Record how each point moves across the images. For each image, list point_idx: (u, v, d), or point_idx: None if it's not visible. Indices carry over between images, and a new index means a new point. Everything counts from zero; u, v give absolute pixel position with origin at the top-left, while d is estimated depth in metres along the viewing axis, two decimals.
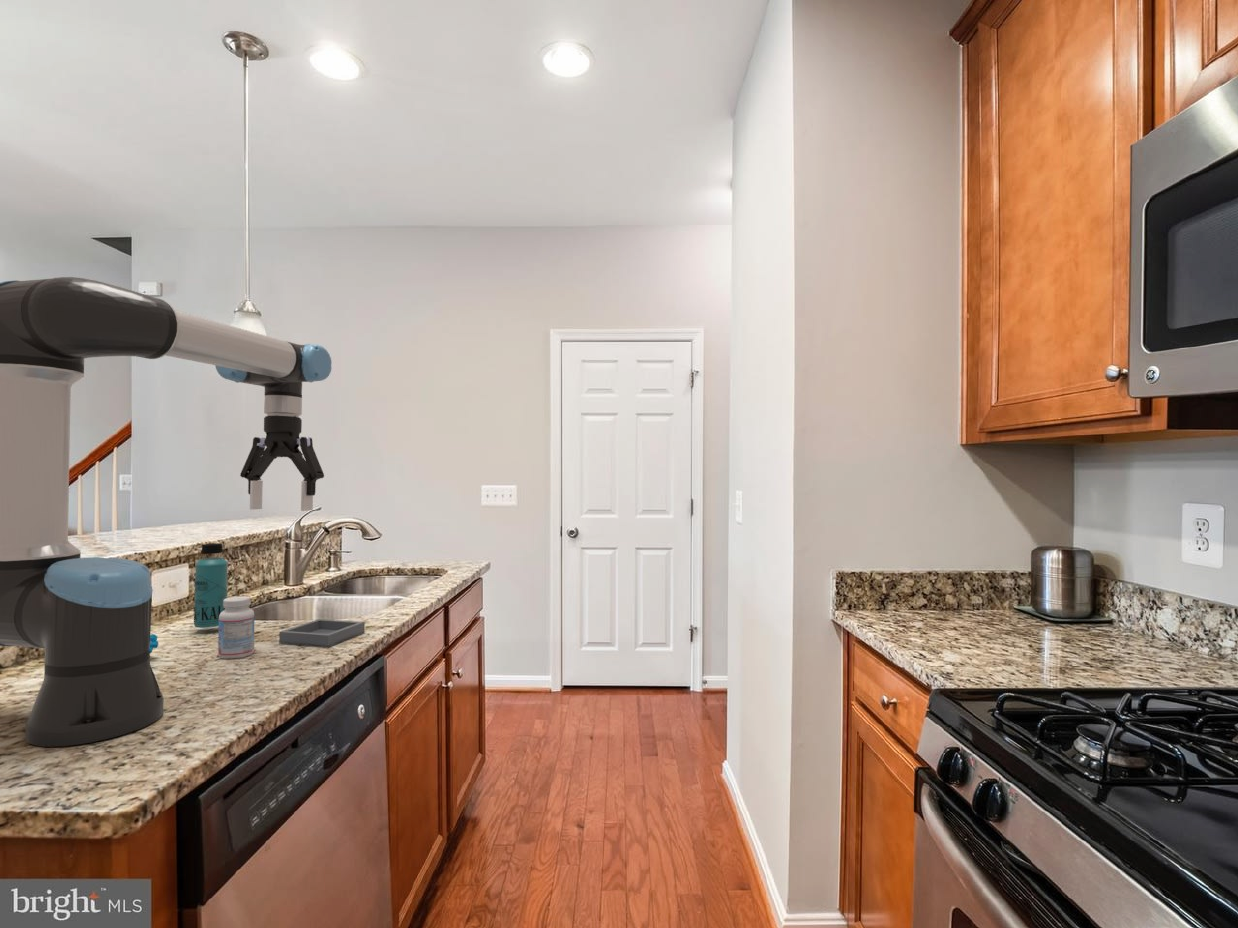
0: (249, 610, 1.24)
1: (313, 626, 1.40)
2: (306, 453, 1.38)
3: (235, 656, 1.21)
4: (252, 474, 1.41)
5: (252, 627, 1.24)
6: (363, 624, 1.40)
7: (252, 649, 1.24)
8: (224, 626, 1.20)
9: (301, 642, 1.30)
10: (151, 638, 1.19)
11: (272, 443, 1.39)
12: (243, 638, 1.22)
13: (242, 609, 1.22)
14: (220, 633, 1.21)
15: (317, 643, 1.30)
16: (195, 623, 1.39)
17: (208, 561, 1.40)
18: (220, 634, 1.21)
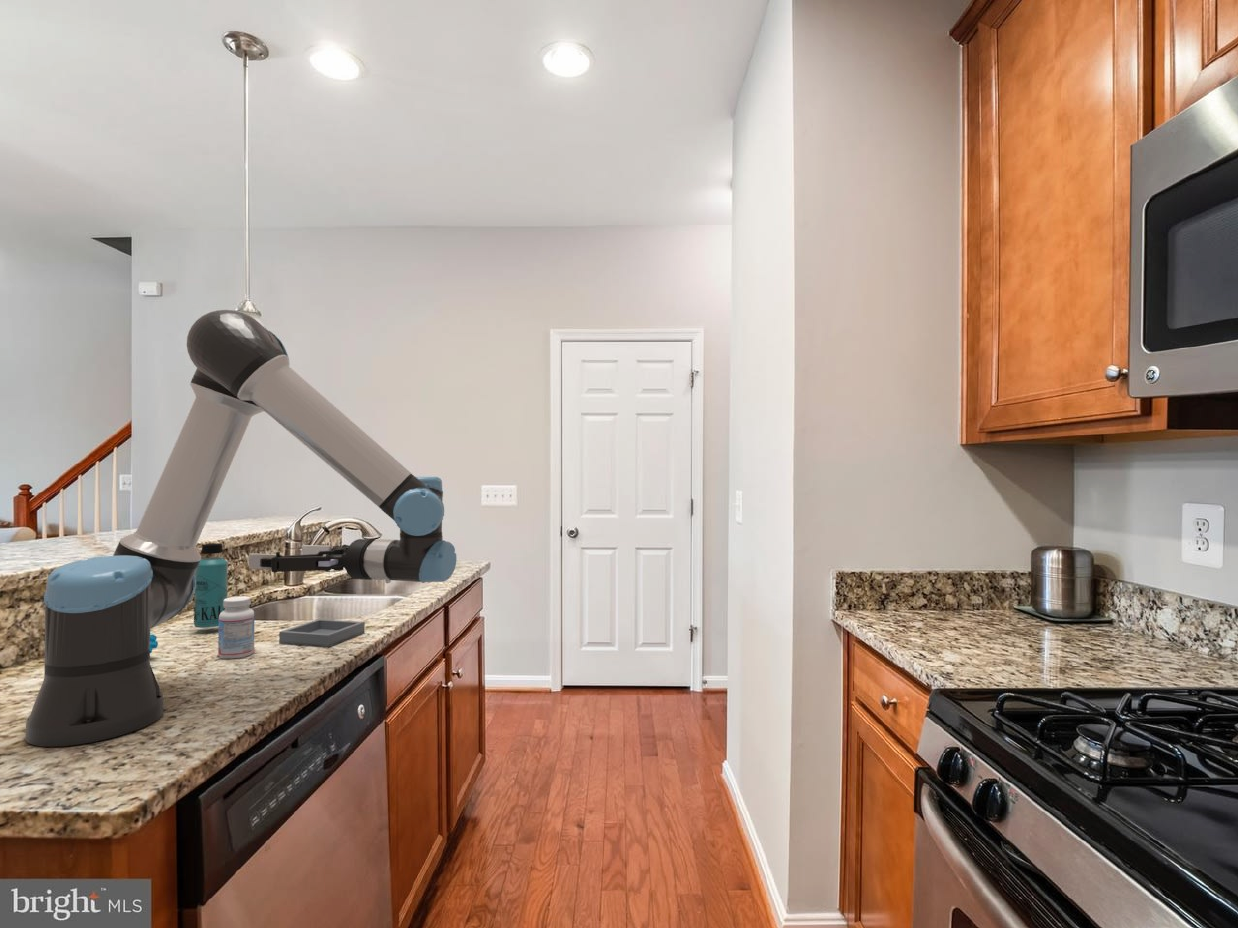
0: (249, 610, 1.24)
1: (313, 626, 1.40)
2: (307, 557, 1.12)
3: (235, 656, 1.21)
4: (336, 547, 1.26)
5: (252, 627, 1.24)
6: (363, 624, 1.40)
7: (252, 649, 1.24)
8: (224, 626, 1.20)
9: (301, 642, 1.30)
10: (150, 638, 1.19)
11: (348, 547, 1.19)
12: (243, 638, 1.22)
13: (242, 609, 1.22)
14: (220, 633, 1.21)
15: (317, 643, 1.30)
16: (195, 623, 1.39)
17: (208, 561, 1.40)
18: (220, 634, 1.21)
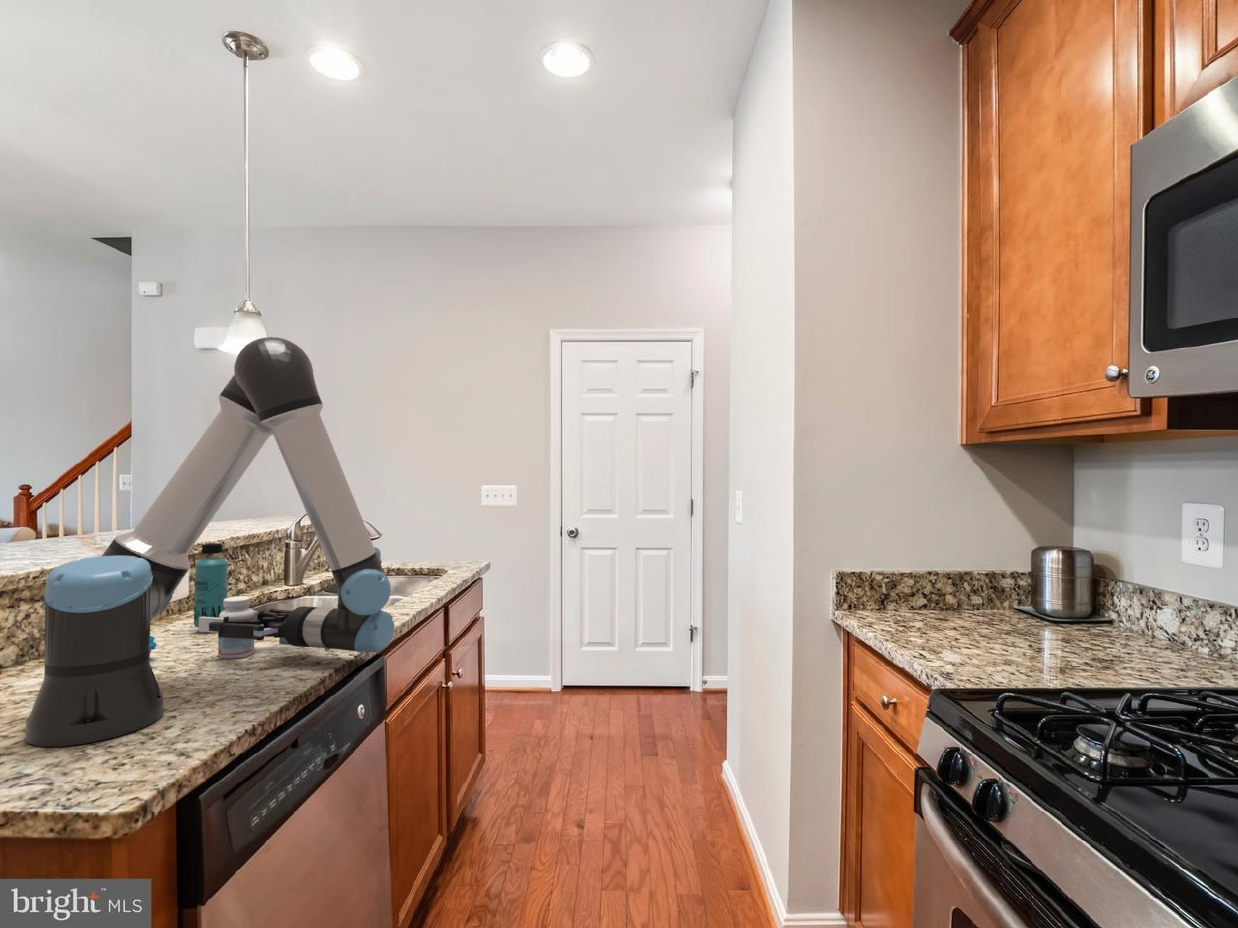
0: (249, 610, 1.24)
1: None
2: (246, 625, 1.16)
3: (235, 656, 1.21)
4: (264, 612, 1.26)
5: None
6: None
7: (252, 649, 1.24)
8: None
9: None
10: None
11: None
12: None
13: (242, 609, 1.22)
14: None
15: None
16: (195, 623, 1.39)
17: (208, 561, 1.40)
18: None
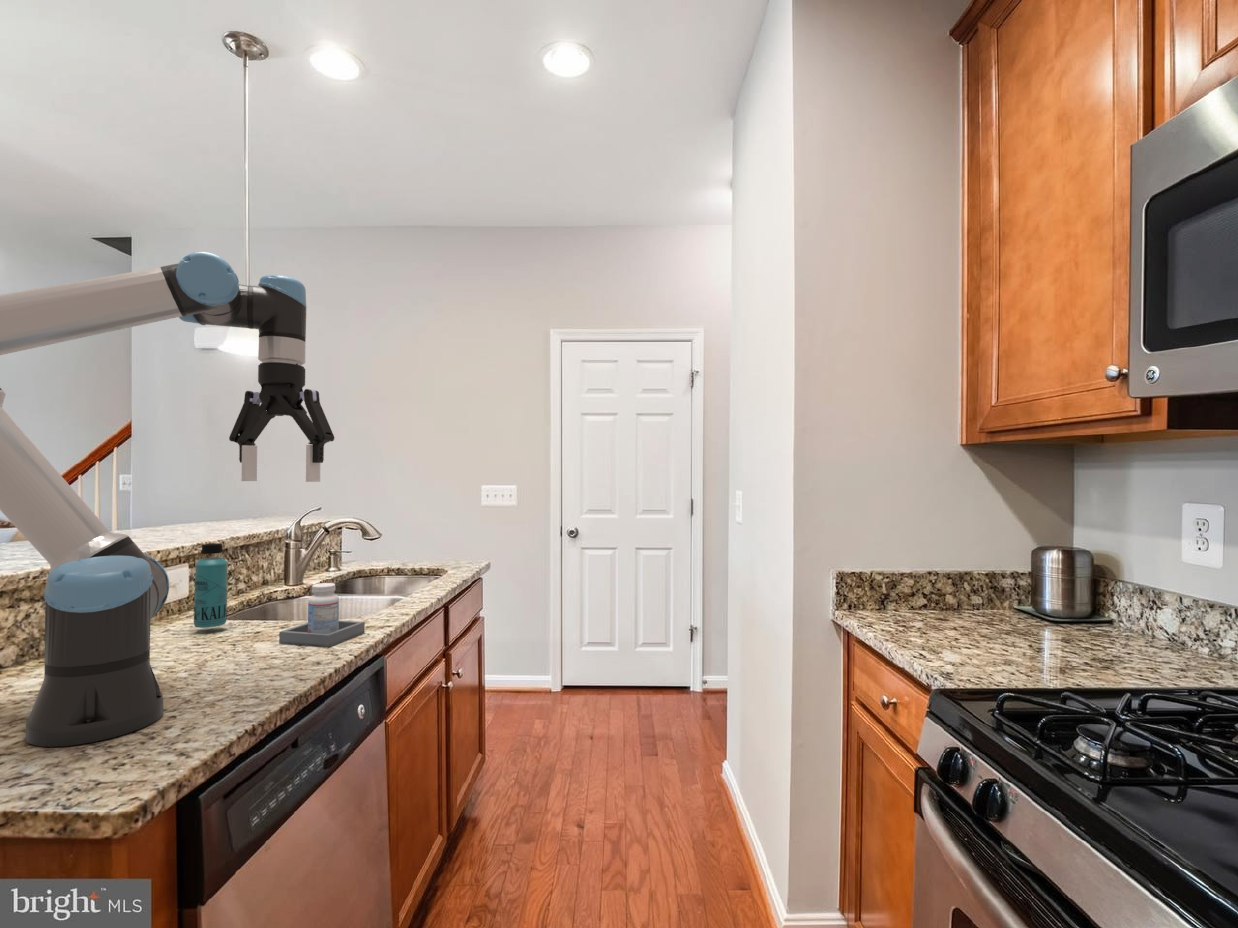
0: (335, 595, 1.36)
1: None
2: (312, 409, 1.10)
3: None
4: (244, 437, 1.13)
5: (337, 610, 1.36)
6: (363, 624, 1.40)
7: None
8: (314, 610, 1.33)
9: (301, 642, 1.30)
10: None
11: (269, 397, 1.11)
12: (331, 621, 1.34)
13: (329, 594, 1.35)
14: (310, 616, 1.34)
15: (317, 643, 1.30)
16: (195, 623, 1.39)
17: (208, 561, 1.40)
18: (310, 617, 1.34)
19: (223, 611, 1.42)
